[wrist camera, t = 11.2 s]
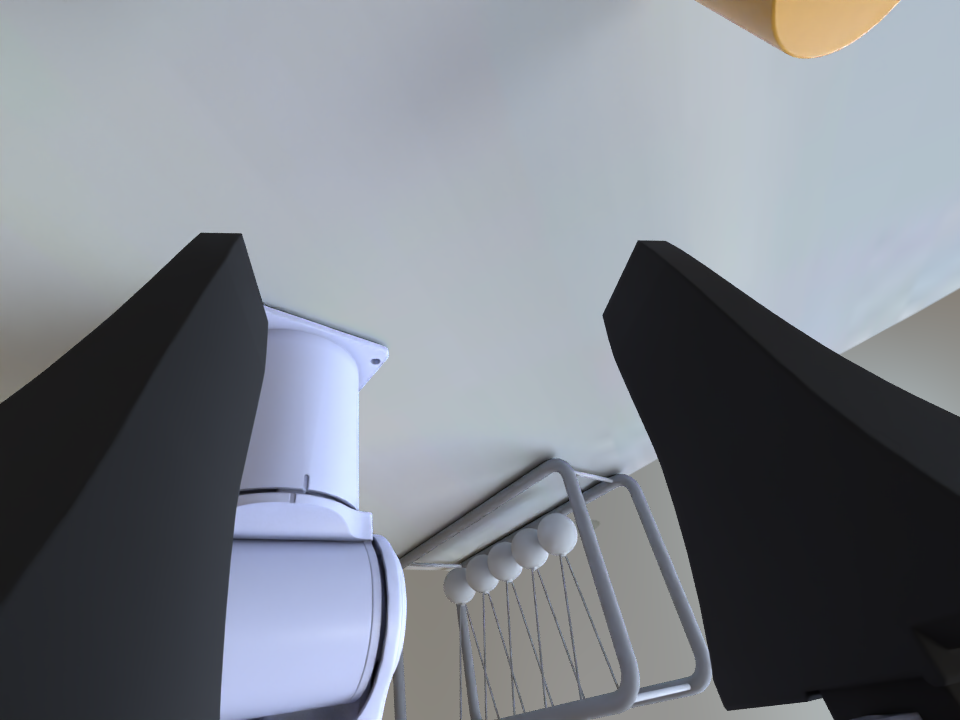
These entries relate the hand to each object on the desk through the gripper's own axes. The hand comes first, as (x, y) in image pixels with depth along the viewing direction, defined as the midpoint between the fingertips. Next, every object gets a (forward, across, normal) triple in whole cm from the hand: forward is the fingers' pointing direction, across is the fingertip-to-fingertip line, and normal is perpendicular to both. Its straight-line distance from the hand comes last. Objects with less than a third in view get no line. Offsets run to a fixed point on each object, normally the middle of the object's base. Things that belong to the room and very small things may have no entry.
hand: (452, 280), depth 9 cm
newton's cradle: (+11, -10, +43) cm, 45 cm away
